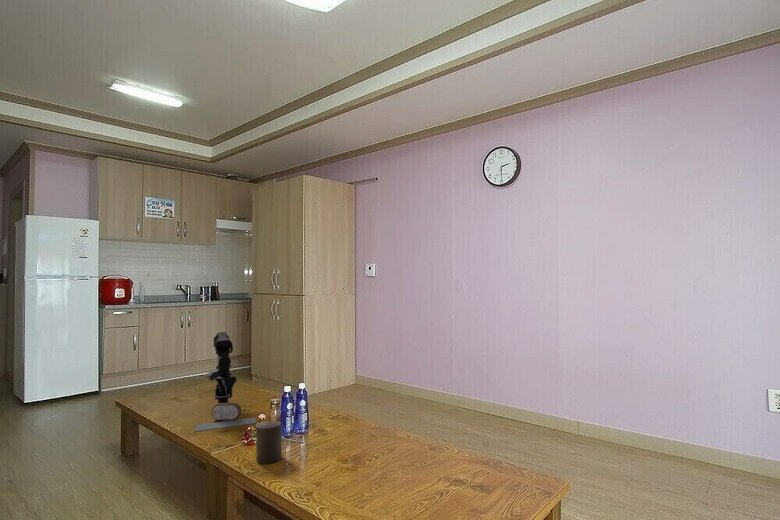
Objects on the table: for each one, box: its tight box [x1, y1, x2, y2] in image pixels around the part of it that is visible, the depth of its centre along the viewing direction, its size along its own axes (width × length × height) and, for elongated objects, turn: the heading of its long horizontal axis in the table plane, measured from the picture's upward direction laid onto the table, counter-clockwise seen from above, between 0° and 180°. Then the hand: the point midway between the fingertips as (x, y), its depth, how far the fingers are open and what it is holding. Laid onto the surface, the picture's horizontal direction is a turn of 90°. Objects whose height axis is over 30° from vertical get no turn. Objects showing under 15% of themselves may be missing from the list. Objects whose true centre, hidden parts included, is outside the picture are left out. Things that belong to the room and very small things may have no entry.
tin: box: [211, 402, 242, 421], centre depth 230 cm, size 15×3×8 cm, turn 84°
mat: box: [194, 416, 257, 432], centre depth 223 cm, size 10×28×1 cm, turn 109°
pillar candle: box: [255, 420, 283, 465], centre depth 178 cm, size 10×10×15 cm
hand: (224, 393), depth 233 cm, fingers open, 9 cm apart
